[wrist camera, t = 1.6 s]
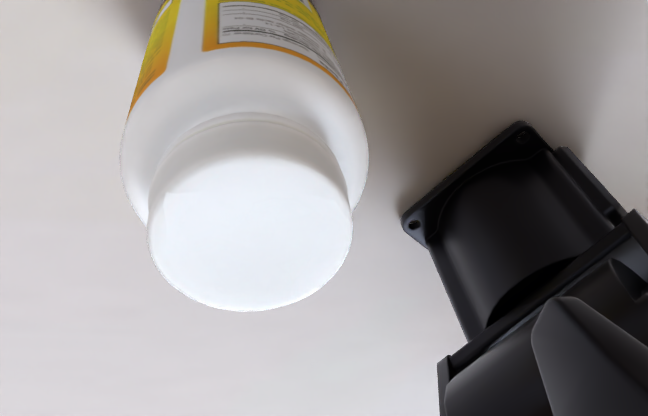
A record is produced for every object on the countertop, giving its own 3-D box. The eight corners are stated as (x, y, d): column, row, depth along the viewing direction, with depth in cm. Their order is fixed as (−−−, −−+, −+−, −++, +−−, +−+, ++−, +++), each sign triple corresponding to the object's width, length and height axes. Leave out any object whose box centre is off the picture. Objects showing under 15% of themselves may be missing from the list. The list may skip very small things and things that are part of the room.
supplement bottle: (198, 139, 21) (180, 369, 13) (121, -9, 18) (30, 176, 10) (343, 89, 21) (420, 293, 12) (293, -73, 17) (352, 64, 9)
